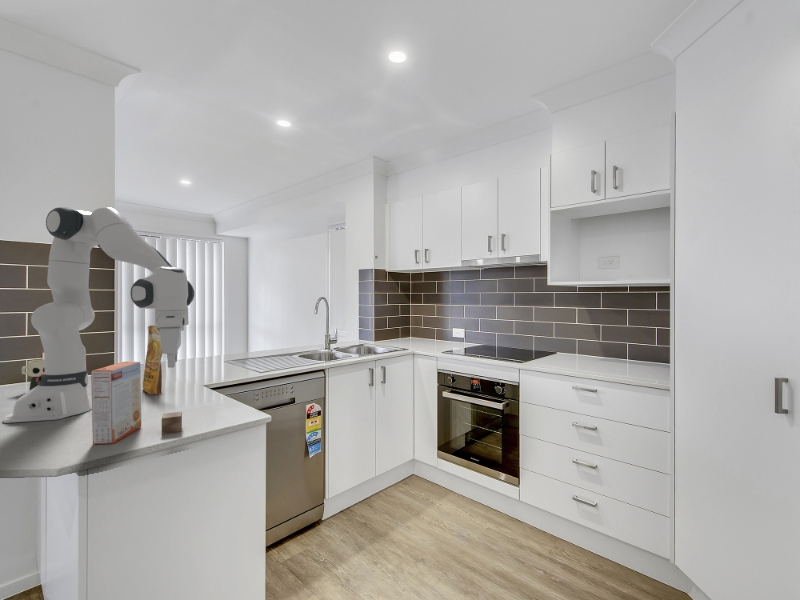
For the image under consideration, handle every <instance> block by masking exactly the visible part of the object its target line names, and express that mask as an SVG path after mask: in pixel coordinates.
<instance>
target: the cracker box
mask: <svg viewBox="0 0 800 600" xmlns="http://www.w3.org/2000/svg"><path fill="white" fill-rule="evenodd" d="M141 375H142V374H141V361H121V362H117V363H115V364H114V363H113V364H111V365H108V366H105V367H100V368H97V369H93V370H91V371H90V376H91V378H90V379H91V380H90V381H91V383H90V384H91V386H90V387H91V407H92V409H91V422H92V423H91V425H92V431H91V432H92V445H110V444H115V443H117V442H119V441H120V440H121V439H123V438H125V437H127V436H128V435H130V434H132V433H133V432H135V431H137V430H138V429H140V428H141V427H142V390H141V389H142V385H141V384H142V381H141V378H142V377H141Z"/></svg>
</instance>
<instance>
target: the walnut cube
mask: <svg viewBox="0 0 800 600" xmlns="http://www.w3.org/2000/svg"><path fill="white" fill-rule="evenodd" d="M182 426H183V411H177V412H175V411H174V412H166V413H163V414H162V417H161V436H162V435H169V434H170V435H171V434H176V433H177V434H178V433H181V432H182V428H183V427H182Z"/></svg>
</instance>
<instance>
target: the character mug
mask: <svg viewBox="0 0 800 600" xmlns="http://www.w3.org/2000/svg"><path fill="white" fill-rule="evenodd" d="M26 369H27V371H26ZM43 373H45V362H44V359H33V360H29V361H27V365H23V366H21V375H27V376H28V377H31V379H30V383H29V391H30V390H32V389H33V388H35V387H36V386H38V384H37V382H36V380H37V379H36V378H37V377H39V376H40V375H41V374H43Z"/></svg>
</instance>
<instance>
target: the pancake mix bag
mask: <svg viewBox="0 0 800 600" xmlns="http://www.w3.org/2000/svg"><path fill="white" fill-rule="evenodd" d="M147 331H148V334H147V344H146V345H147V348H146V349H147V350H146V355H145V361H144V362H145V363H144V370H143V377H142V379H143V380H142V391H143V390H144V391H143V392H145V393H146V392H147V395H150V394H156V395H157V394H158V395H160V394H159V393H161V394H162V386H163V385H162V384H163V381H162V380H163V373H162V357H163V355H164V354H163V352H162V347H161V339H160V328H157V326H155V325H148V326H147ZM156 395H155V396H156Z"/></svg>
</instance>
